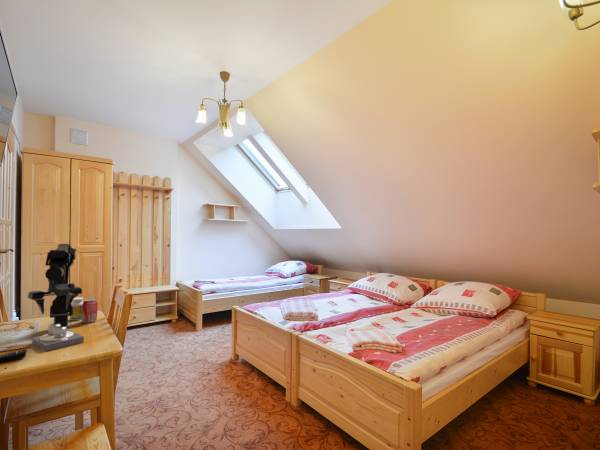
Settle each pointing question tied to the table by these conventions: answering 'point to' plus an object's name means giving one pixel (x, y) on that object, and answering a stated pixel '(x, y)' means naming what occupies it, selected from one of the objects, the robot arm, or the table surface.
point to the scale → (57, 341)
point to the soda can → (89, 310)
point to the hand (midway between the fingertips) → (55, 311)
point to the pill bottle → (77, 309)
